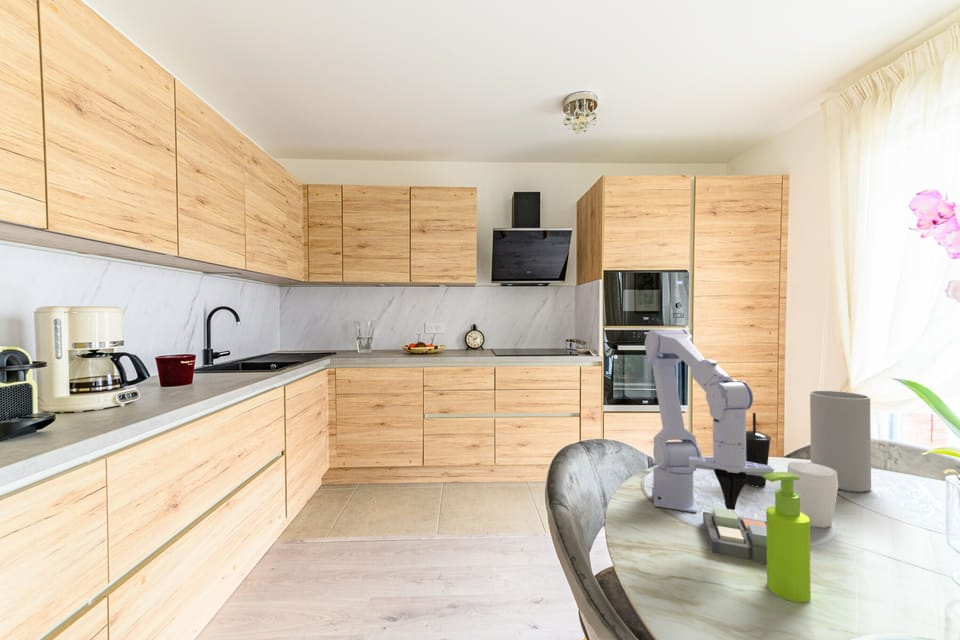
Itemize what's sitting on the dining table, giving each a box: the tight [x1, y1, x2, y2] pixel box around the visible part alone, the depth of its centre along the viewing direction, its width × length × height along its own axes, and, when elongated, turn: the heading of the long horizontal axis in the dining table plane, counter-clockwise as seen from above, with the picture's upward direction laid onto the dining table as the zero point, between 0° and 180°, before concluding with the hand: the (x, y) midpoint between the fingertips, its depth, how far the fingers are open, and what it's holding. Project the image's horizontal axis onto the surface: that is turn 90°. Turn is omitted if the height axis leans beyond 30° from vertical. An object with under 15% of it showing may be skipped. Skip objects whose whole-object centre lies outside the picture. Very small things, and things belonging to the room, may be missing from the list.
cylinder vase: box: [809, 390, 872, 493], centre depth 111 cm, size 12×12×25 cm
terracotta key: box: [741, 517, 767, 531], centre depth 84 cm, size 4×4×2 cm
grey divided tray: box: [702, 511, 767, 565], centre depth 82 cm, size 13×13×2 cm
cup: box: [787, 461, 838, 528], centre depth 91 cm, size 9×9×12 cm
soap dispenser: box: [762, 471, 812, 603], centre depth 68 cm, size 6×7×20 cm
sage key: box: [712, 507, 738, 529], centre depth 86 cm, size 4×4×2 cm
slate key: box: [748, 524, 767, 547], centre depth 79 cm, size 4×4×2 cm
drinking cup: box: [746, 412, 772, 488], centre depth 112 cm, size 8×8×20 cm
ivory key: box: [717, 526, 744, 543], centre depth 81 cm, size 4×4×2 cm
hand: (729, 507), depth 81 cm, fingers closed
